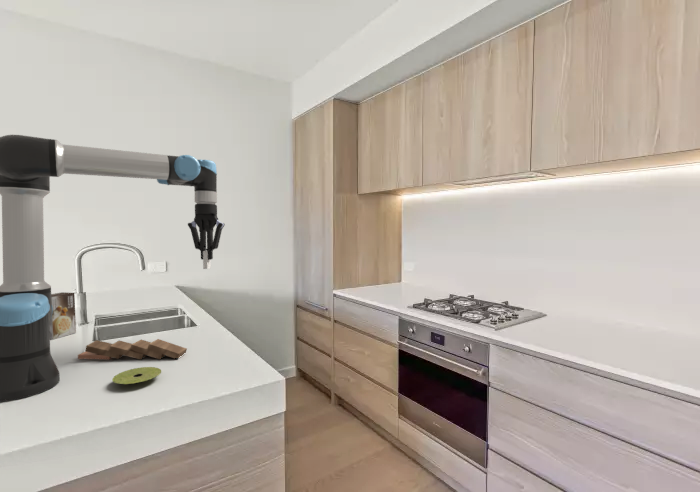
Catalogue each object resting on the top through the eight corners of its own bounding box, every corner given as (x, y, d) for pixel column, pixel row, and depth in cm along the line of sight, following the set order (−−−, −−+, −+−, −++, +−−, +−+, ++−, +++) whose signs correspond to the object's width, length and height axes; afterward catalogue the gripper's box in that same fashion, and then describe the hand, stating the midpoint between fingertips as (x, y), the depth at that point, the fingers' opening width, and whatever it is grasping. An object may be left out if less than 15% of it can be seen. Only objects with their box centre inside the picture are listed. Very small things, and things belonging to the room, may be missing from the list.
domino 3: (150, 348, 117) (118, 340, 116) (142, 354, 112) (109, 345, 111) (148, 353, 117) (117, 345, 116) (141, 359, 112) (108, 351, 111)
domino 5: (187, 348, 117) (158, 338, 117) (179, 354, 112) (149, 343, 112) (185, 353, 117) (156, 344, 117) (177, 359, 112) (147, 349, 112)
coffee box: (63, 332, 143) (62, 291, 142) (76, 333, 142) (75, 292, 141) (39, 338, 134) (37, 295, 133) (53, 339, 133) (51, 296, 132)
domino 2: (128, 347, 117) (96, 340, 116) (119, 353, 112) (86, 345, 111) (127, 352, 117) (95, 345, 116) (118, 358, 112) (85, 351, 111)
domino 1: (120, 350, 118) (90, 349, 118) (109, 355, 112) (77, 354, 113) (120, 355, 118) (90, 354, 118) (109, 361, 112) (77, 360, 113)
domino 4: (170, 348, 117) (141, 339, 117) (162, 354, 112) (131, 344, 112) (168, 354, 117) (139, 344, 117) (160, 359, 112) (129, 349, 112)
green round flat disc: (111, 395, 88) (111, 387, 88) (112, 378, 97) (112, 371, 97) (163, 384, 94) (163, 377, 94) (159, 370, 103) (159, 363, 103)
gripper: (227, 204, 134) (228, 267, 135) (193, 204, 134) (194, 267, 135) (219, 202, 126) (220, 269, 127) (183, 203, 127) (184, 269, 128)
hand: (206, 268), depth 131 cm, fingers closed
